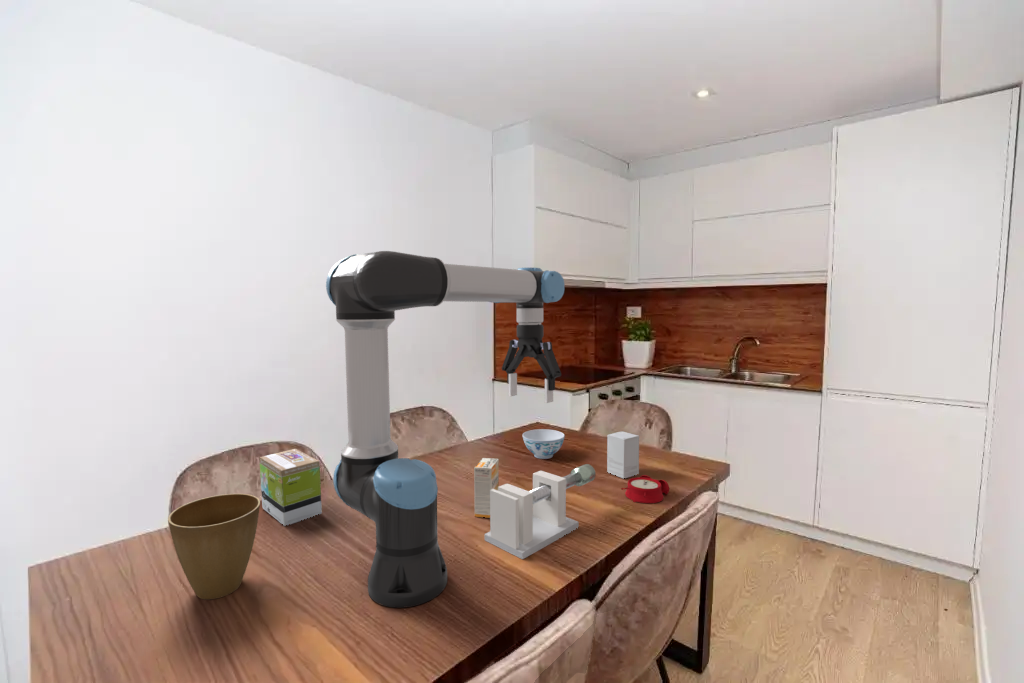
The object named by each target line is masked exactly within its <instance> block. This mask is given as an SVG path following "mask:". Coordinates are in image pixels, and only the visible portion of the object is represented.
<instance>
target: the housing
mask: <svg viewBox="0 0 1024 683" xmlns="http://www.w3.org/2000/svg"><path fill="white" fill-rule="evenodd" d="M563 477H564V476H559V475H556V474H553V473H550V472H546V471H544V470H538V471H536V472H534V473H532V490H534V489H536V488H538V487H541V486H543V485H545V484H547V485H549V486H551V496H550V497H548V498H546V499H543V500H541V501H539V502H537V503H535V504H533V493H532V492H529V491H530V490H525V489H524V488H522V487H521V488H520V487H519V486H516V485H513V484H510V483H504V484H502V485H499V487H498V490H495V489H491V490H490V518H489V520H490V521H489V522H490V523H489V524H490V529H489V531H488V532H486V533H484V541H485V542H487V543H489V544H491V545H493V546H494V547H497V548H499V549H501V550H503V551H505V552H507V553H509V554H511V555H513V556H515V557H517V558H519V559H521V560H524V559H526V558H528V557H530V556H531V555H533V554H535V553H536V552H539V551H540V550H542V549H544V548H546V547H547V546H549V545H551V544H552V543H554V542H556V541H558V540H559V538H560V539H561V538H563V537H565V536H567V535H568V534H571V533H572V532H574V531H575V530H577V529H578V527H580V526H579V521H577V520H575V519H573V518H570V517H567V515H566V513H567V511H566V510H567V508H566V507H567V501H566V500H567V498H566V497H567V492H566V491H567V489H566V478H563ZM576 528H577V529H576ZM573 530H574V531H573ZM571 531H572V532H571ZM566 534H567V535H566ZM564 535H565V536H564Z"/></svg>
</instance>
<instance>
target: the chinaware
mask: <svg viewBox="0 0 1024 683" xmlns="http://www.w3.org/2000/svg"><path fill="white" fill-rule="evenodd" d="M565 436H566V435H565V434H564V433H563V432H561V431H559V430H555V429H545V428H541V429H540V428H539V429H537V428H536V429H530V430H527V431H525V432H523V433H522V439H523V442H524V444H525V447H526V449H527V450H529V452H530V453H532V454H533V456H534V457H535V458H537V459H539V460H544V459H545V460H547V459H551V458H553V456H554V455H555V454H556V453H557V452H558V451H560V449H561V448H562V446H563V443H564V440H565Z"/></svg>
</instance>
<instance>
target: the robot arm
mask: <svg viewBox="0 0 1024 683" xmlns="http://www.w3.org/2000/svg"><path fill="white" fill-rule="evenodd" d="M325 283H326V284H325V287H326V294H327V296H328V299H329V300H330V301H331V302H332V303H333V305H334V306H335V315H336V319H335V321H336V322H337V323H338V324H339V325H340V326H341V327H342V328H343V329H344V346H345V349H344V351H345V353H344V354H345V373H346V374H345V375H346V376H345V378H346V382H345V383H346V404H347V406H346V408H347V409H346V410H347V435H348V437H347V438H348V440H347V441H348V442H347V443H346V445H344V447H343V448H341V450H340V451H341V452H340V459H339V461H340V462H339V463H338V464H337V465H336V467H335V470H334V472H333V479H332V480H333V482H332V483H333V487H334V491H335V493H336V495H337V496H338V497H339V499H340V500H342V502H343V503H344V504H345V505H346V506H348V507H350V508H351V509H353V510H356V511H357V512H359V513H360V514H362V515H364V516H365V517H367V518H368V519H370V520H372V521H373V522H374V523H375V541H376V542H375V543H376V544H375V546H376V547H375V548H376V549H375V553H374V555H373V559H372V563H371V567H370V571H369V573H368V576H367V593H368V596H369V597H370V598H371V600H372V601H374V602H375V603H377V604H379V605H381V606H383V607H390V608H409V607H414V606H419V605H422V604H425V603H427V602H429V601H432V600H433V599H435V598H436V597H438V596H439V595H440V594H441V593H443V591H444V590H445V589H446V586H447V583H448V567H447V564H446V561H445V559H444V556H443V552H442V551H441V548H440V545H439V542H438V489H439V487H438V484H437V483H438V482H437V475H436V472H435V470H434V468H433V467H432V466H431V465H430V464H429V463H427V462H425V461H423V460H420V459H416V458H413V459H410V458H407V457H404V458H403V457H402V458H399V446H398V444H397V443H396V442H395V441H393V439H391V412H390V408H391V407H390V406H391V405H390V372H389V369H390V368H389V366H390V365H389V338H388V336H389V332H388V329H389V327H390V326H391V324H392V323H393V322H394V321H395V320H396V318H395V317H396V316H395V315H396V312H397V311H400V310H408V309H415V308H422V307H439V305H441V304H442V303H443V302H465V303H466V302H468V303H470V302H473V303H474V302H477V303H478V302H479V303H480V302H481V303H482V302H483V303H484V302H485V303H486V302H487V303H494V304H500V303H503V304H504V303H510V304H512V303H515V304H516V323H518V324H517V325H516V337H517V338H518V339H510V340H509V345H508V349H507V353H506V356H505V358H504V360H503V364H502V366H501V371H502V372H504V371H505V372H506V374H507V375H506V378H507V379H506V381H507V385H508V397H514V396H518V373H517V372H516V370H517V369H518V367H519V365H520V364H521V363H522V361H523V360H524V358H533V359H534V360H536V361H537V363H538V365H539V366H540V368H541V370H542V371H543V373H544V375H545V376H546V378H544V403H545V404H549V403H553V402H554V391H555V390H556V378H559V377H561V376H562V371H561V369H560V366H559V364H558V362H557V361H558V360H557V358H556V356H555V353H554V351H553V343H552V342H551V341H545V342H543V338H544V334H545V332H544V325H543V324H542V323H543V322H544V304H545V303H546V304H549V303H555V302H558V301H560V300H561V299H562V298H563V296H564V294H565V280H564V277H563V276H562V274H561V273H560V272H558V271H556V270H544V271H543V269H541V268H540V267H518V268H517V269H514V268H513V269H512V268H501V267H489V266H477V265H465V264H463V265H462V264H453V263H450V264H449V263H445V262H444V261H443V260H442V259H440V258H438V257H431V256H424V255H423V256H422V255H417V254H410V253H404V252H400V251H390V250H380V251H373V252H367V253H359V254H356V253H355V254H351V255H348V256H346V257H344V258H342V259H339V261H337V262H336V263H335V264H334V265H333V266H332V267H331V268H330V270H329V272H328V274H327V277H326V282H325Z"/></svg>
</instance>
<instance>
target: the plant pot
mask: <svg viewBox="0 0 1024 683" xmlns="http://www.w3.org/2000/svg"><path fill="white" fill-rule="evenodd" d="M260 507H261V501H260V498H259V497H258V496H255V495H253V494H248V493H226V494H225V493H224V494H217V495H212V496H208V497H203V498H199V499H195V500H192V501H190V502H188V503H187V502H186V503H185V504H182V505H180V506H179V507H177V508H176V509H174V510H173V511H172V512H170V514H169V515H168V516H167V522H168V526H169V530H170V535H171V539H172V543H173V546H174V550H175V552H176V556H177V558H178V561H179V563H180V566H181V568H182V571H183V572H184V575H185V577H186V579H187V581H188V583H189V584H190V587H191V588H192V590H193V592H194V594H195V595H196V596H197V597H198V598H199V599H201V600H216V599H219V598H223V597H226V596H228V595H230V594H232V593H234V592H235V591H236V590H238V588H240V586H241V583H242V582H243V579H244V576H245V573H246V570H247V568H248V564H249V562H250V557H251V555H252V550H253V546H254V542H255V539H256V534H257V530H258V522H259V514H260Z"/></svg>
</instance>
